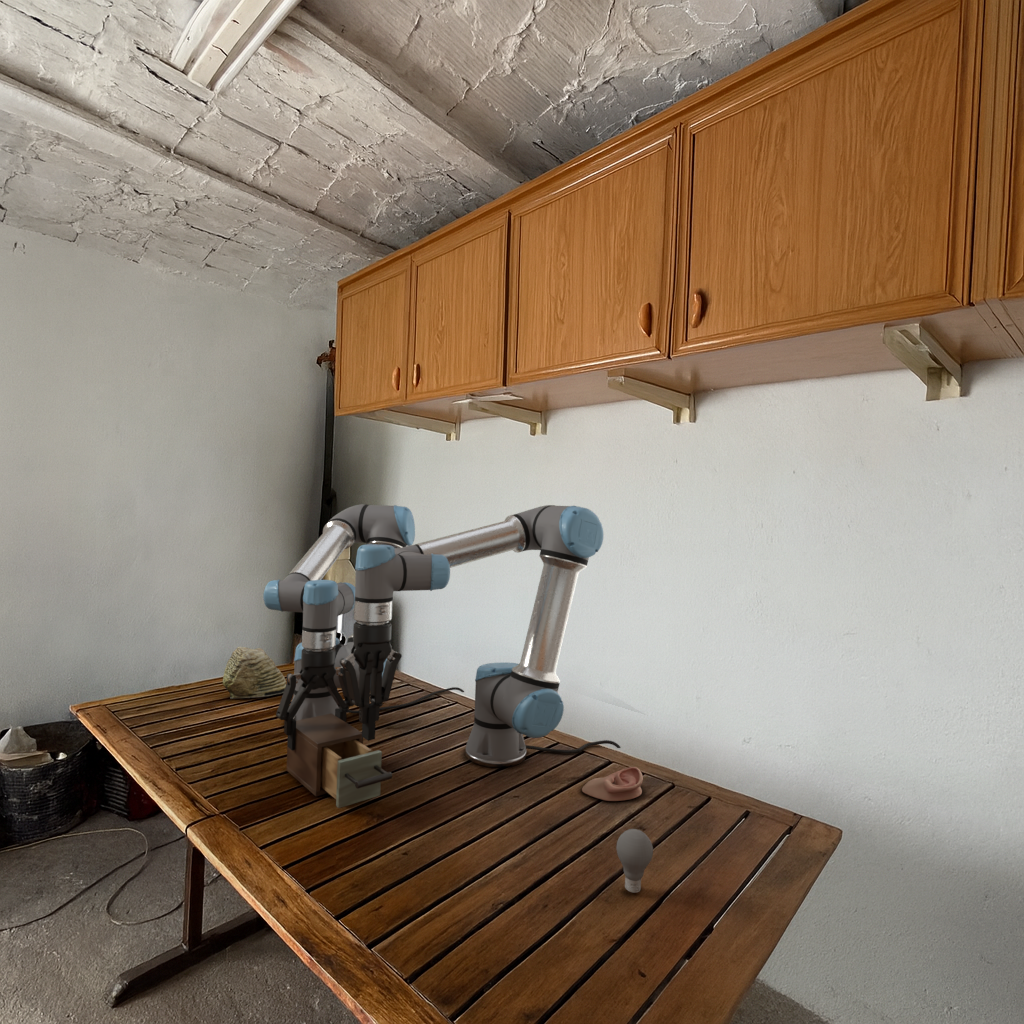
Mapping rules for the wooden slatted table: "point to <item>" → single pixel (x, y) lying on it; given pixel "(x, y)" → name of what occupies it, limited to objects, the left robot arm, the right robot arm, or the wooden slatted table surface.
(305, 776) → the cabinet
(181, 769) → the wooden slatted table surface
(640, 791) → the anatomical model
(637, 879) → the light bulb
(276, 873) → the wooden slatted table surface
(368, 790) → the drawer
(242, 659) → the fossil
